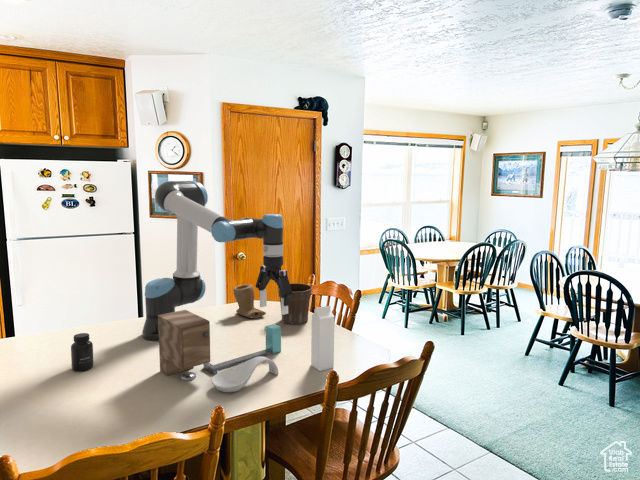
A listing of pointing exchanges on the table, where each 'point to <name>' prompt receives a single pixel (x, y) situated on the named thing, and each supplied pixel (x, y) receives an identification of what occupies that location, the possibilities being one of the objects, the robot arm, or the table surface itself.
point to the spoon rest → (240, 374)
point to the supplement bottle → (82, 353)
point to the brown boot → (246, 301)
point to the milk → (322, 339)
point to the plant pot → (297, 304)
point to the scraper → (271, 348)
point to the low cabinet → (183, 341)
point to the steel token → (188, 376)
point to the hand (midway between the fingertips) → (273, 310)
